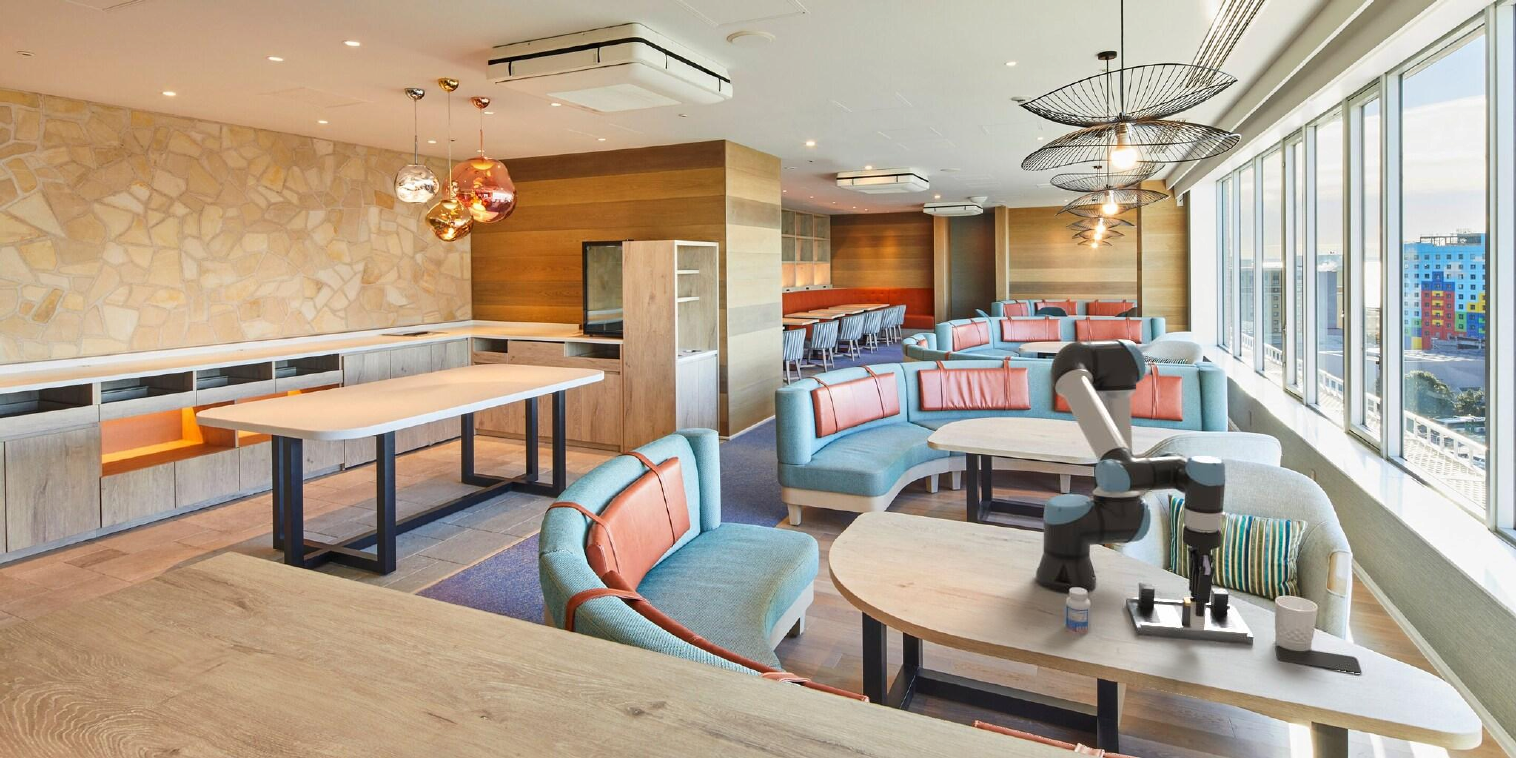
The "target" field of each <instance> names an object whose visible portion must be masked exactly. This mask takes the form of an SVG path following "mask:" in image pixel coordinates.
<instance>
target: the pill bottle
mask: <svg viewBox="0 0 1516 758" xmlns="http://www.w3.org/2000/svg"><path fill="white" fill-rule="evenodd" d="M1068 595H1069V596H1068V597H1067V598H1066V601H1065V629H1067V631H1069V632H1070V633H1073V634H1078V635H1085V634H1087V633H1089V632H1090V631H1091V601H1090V599H1089V598H1088V592H1087V590H1085V589H1083V588H1079V587H1074V588H1070V590H1069V593H1068Z"/></svg>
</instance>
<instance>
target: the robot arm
mask: <svg viewBox="0 0 1516 758" xmlns="http://www.w3.org/2000/svg"><path fill="white" fill-rule="evenodd" d="M1145 374H1146V361H1145V357H1144V354H1143V352H1142V350H1141V348H1140V347H1139V345H1138V344H1137V343H1135V342H1134V341H1132V340H1130V339H1115V338H1114V339H1105V340H1088V341H1087V340H1086V341H1082V340H1080V341H1074V342H1071V343H1068V344H1066V345H1065V346H1063V347H1061V349H1060V350H1059V351H1058V352H1057V353H1056V354H1055V356H1054V357H1053V360H1052V363H1051V366H1050V379H1051V383H1052V386H1053V387H1054V389H1055V392H1056V394H1057V395H1058V396H1060V397H1062V398H1064V399H1065V402H1066V403H1067V405H1068V407H1069V409H1070V411H1071V414H1072V415H1073V417H1074V419H1075V421H1076V422H1077V424H1078V427H1079V428H1080V429H1081V431H1082V433H1083V435H1084V437H1085V439H1086V441H1087V443H1088V444H1089V447H1090V448H1091V451H1092V452H1093V454H1094V456H1095V457H1096V459H1097V460H1096V461H1097V464H1096V466H1095V470H1094V476H1095V478H1096V484H1097V487H1096V488H1095V489H1094V490H1093V491H1092V499H1091V498H1090V497H1088V496H1087V495H1084V494H1080V493H1079V494H1078V493H1076V494H1074V493H1065V494H1059V495H1056V496H1053V497H1051V498H1049V499H1048V500H1047V502H1046V503H1045V504H1044V509H1043V510H1044V511H1043V515H1042V517H1043V518H1042V519H1043V547H1042V549H1043V551H1042V556H1041V558H1040V562H1039V565H1038V567H1037V568H1036V572H1035V580H1037V581H1036V583H1037V584H1038V583H1039V584H1038V585H1040V586H1041V587H1042V588H1045V589H1048V590H1050V591H1052V592H1057V593H1064V594H1069V590H1070V588H1074V587H1079V588H1083V589H1085V590H1087V593H1088V592H1091V591H1093V590H1095V589H1096V586H1097V576H1096V574H1095V569H1094V567H1093V563H1092V560H1091V557H1090V553H1091V552H1090V551H1091V546H1094V545H1107V544H1108V545H1109V544H1129V543H1133V542H1134V543H1135V542H1139V541H1141V540H1143V539H1144V538H1145V536H1147V534H1148V532H1149V530H1150V527H1151V520H1152V519H1151V518H1152V517H1151V516H1152V515H1151V509H1149V504H1148V502H1147V501H1146V499H1144V498H1143V497H1141V491H1161V490H1176V491H1179V492H1180V493H1182V494H1184V505H1183V518H1182V519H1183V522H1182V523H1183V524H1184V525H1183V526H1182V529H1183V530H1182V541H1183V543H1184V544H1185V545H1186V546H1188V547H1187V551H1188V590H1189V592H1190V596H1191V597H1189V598H1190V602H1191V614H1190V626H1191V628H1195V629H1205V616H1206V603H1207V604H1209V603H1210V601H1211V588H1212V586H1213V578H1214V575H1215V570H1216V569H1215V567H1214V566H1212V564H1213V562H1214V555H1213V554H1212V553H1211V551H1212V550H1215V549H1216V550H1217V549H1219V548H1220V547H1221V546H1222V538H1223V537H1222V535H1223V531H1222V528H1223V519H1224V518H1225V517H1226V514H1225V512H1224V505H1225V504H1224V503H1225V502H1224V500H1225V489H1226V480H1227V478H1226V465H1225V462H1224V461H1223V460H1222V459H1220V458H1218V457H1213V456H1211V455H1210V456H1209V455H1193V456H1190V457H1186V456H1184V455H1182V454H1180V453H1178V452H1173V451H1162V452H1160V453H1159V454H1157V455H1155V456H1150V457H1135V455H1134V453H1133V439H1132V438H1133V436H1132V435H1133V432H1132V409H1131V403H1132V402H1131V397H1132V395H1133V394H1134V393H1136V391H1137V384H1138V383H1140V382H1142V381H1143V379H1144V378H1145Z"/></svg>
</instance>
